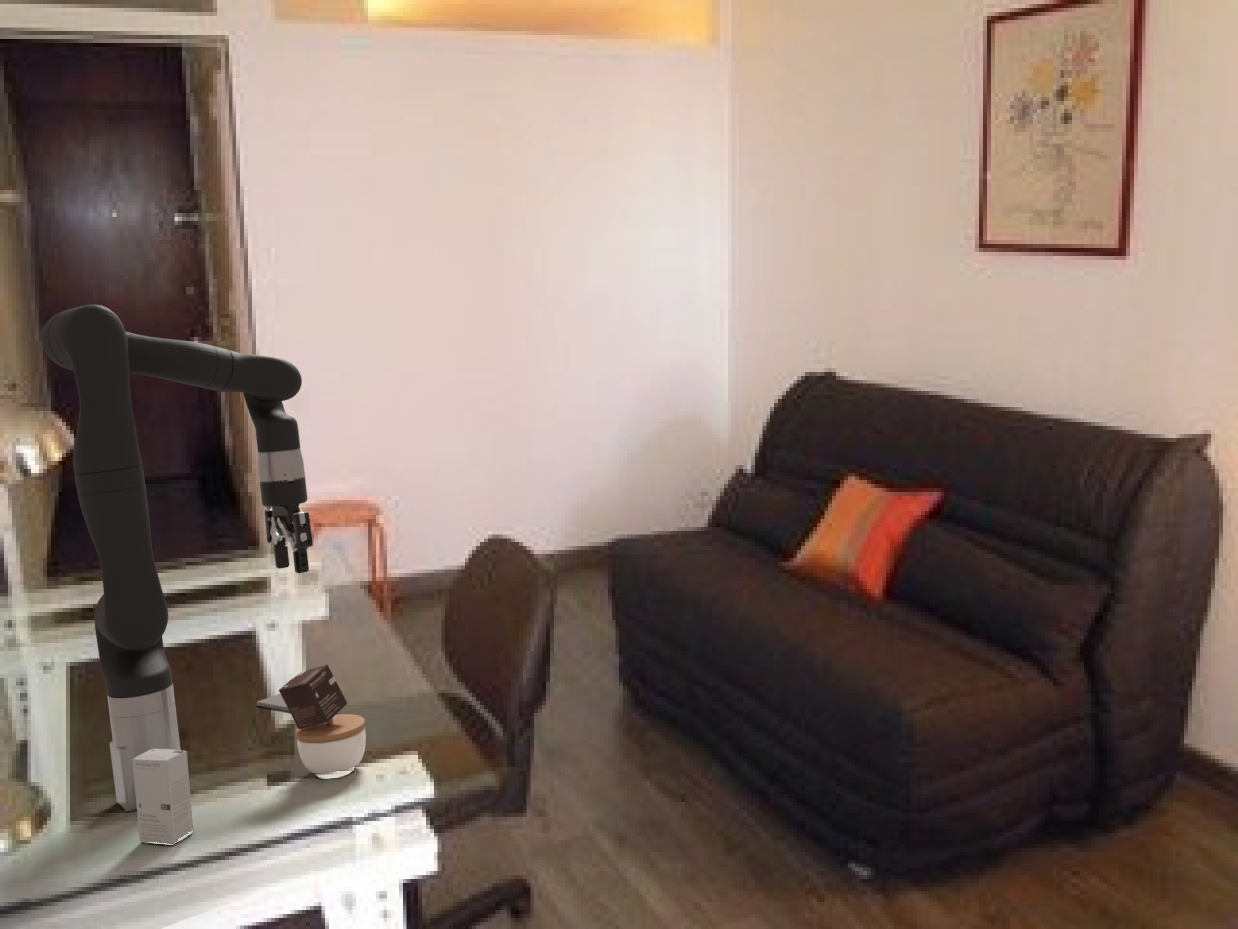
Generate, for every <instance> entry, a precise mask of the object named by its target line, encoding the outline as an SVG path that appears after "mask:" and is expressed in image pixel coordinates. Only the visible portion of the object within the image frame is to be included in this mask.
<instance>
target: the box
mask: <svg viewBox="0 0 1238 929" xmlns="http://www.w3.org/2000/svg"><path fill="white" fill-rule="evenodd" d="M278 692H279V694H281V696H282V698H283V700H284V701H285V703H286V705H287V707H288V709H289V711H290V712H289V713H290V715H291V718H292V719H293V720H294V721H293V722H294V723H295V725H296V727H297V728H298V729H304V728H308V727H312V726H316V725H320V724H325V723H327V722H328V721H329V720H331V719H332V718H333V717H334V716H335V715H338V714H339V713H340V711H342V710H343V708H344V707H345V706H347V705H348V701H347V699H346V698H345V696H344V694H343V692H342V690H341V687H340V686H339V683H338V682H337V680H336V679H335V677H334V675H333V672H332V671H331V668H330V666H329V665H328V664H324V665H321V666H317V667H314V668H309V669H306V670H303V671H300V673H298V674H297V675H296V676H294V677H293V678H291V679H289V681H287V682H286V683H285V684H284V685H283V686H282V687H281V688H279V690H278Z"/></svg>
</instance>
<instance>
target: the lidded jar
mask: <svg viewBox="0 0 1238 929" xmlns="http://www.w3.org/2000/svg"><path fill="white" fill-rule="evenodd" d="M294 733H295V738H296V744H297V749H298V750H297V751H298V754H299V757H300V760H301V762H302V764H303V765H304V768H306V769H307V770H308V771H309V772H310V773H311V774H313V773H330V772H335V771H339V770H346V769H349V768H351V767H355V766H356V765H357V766H358V765H359V764H360V763H361V761H362V759H363V757H364V754H365V749H366V744H367V741H366V740H367V733H366V719H365V717H363V716H361V715H359V714H350V713H349V714H348V713H347V714H346V713H342V714H341V713H340V714H339V713H338V714H336V715H335V716H334V717H333V718H332V719H331V720H329V721H328V722H327V723H325V724H320V725H316V726H312V727H308V728H304V729H298V727H297V728H296V729H295V731H294ZM357 766H356V767H357ZM356 767H355V768H356Z"/></svg>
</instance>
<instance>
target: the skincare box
mask: <svg viewBox="0 0 1238 929" xmlns="http://www.w3.org/2000/svg"><path fill="white" fill-rule="evenodd" d="M132 761H133V771H134V783H135V794H136V805H137V810H136V813H137V814H136V815H137V824H138V825H137V826H138V836H139V842H140V843H141V842H157V843H158V842H159V843H167V844H174V843H175V842H177V841H178V839H179V838H181V837H183V836H184V835H186V834H188V832H191V831H192V830H193V831H194V822H193V813H192V801H191V788H190V787H191V786H190V776H189V763H188V751H186V750H182V749H181V750H173V749H151V750H149V751H147V752H145V753H143V754H141V755H139V756H137V757H135V758H134V759H133V760H132Z"/></svg>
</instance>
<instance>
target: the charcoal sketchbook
mask: <svg viewBox="0 0 1238 929" xmlns="http://www.w3.org/2000/svg"><path fill="white" fill-rule="evenodd" d="M256 706H258V707H262V708H267V709H273V710H279V711H283V712H289V713H290V711H289V709H288V707H287V705H286V703H285V701H284V700H283V698H282V696H281V693H278V694H275V695H272V696H269V697H267V698H264V699H261V700H257V701H256Z"/></svg>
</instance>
